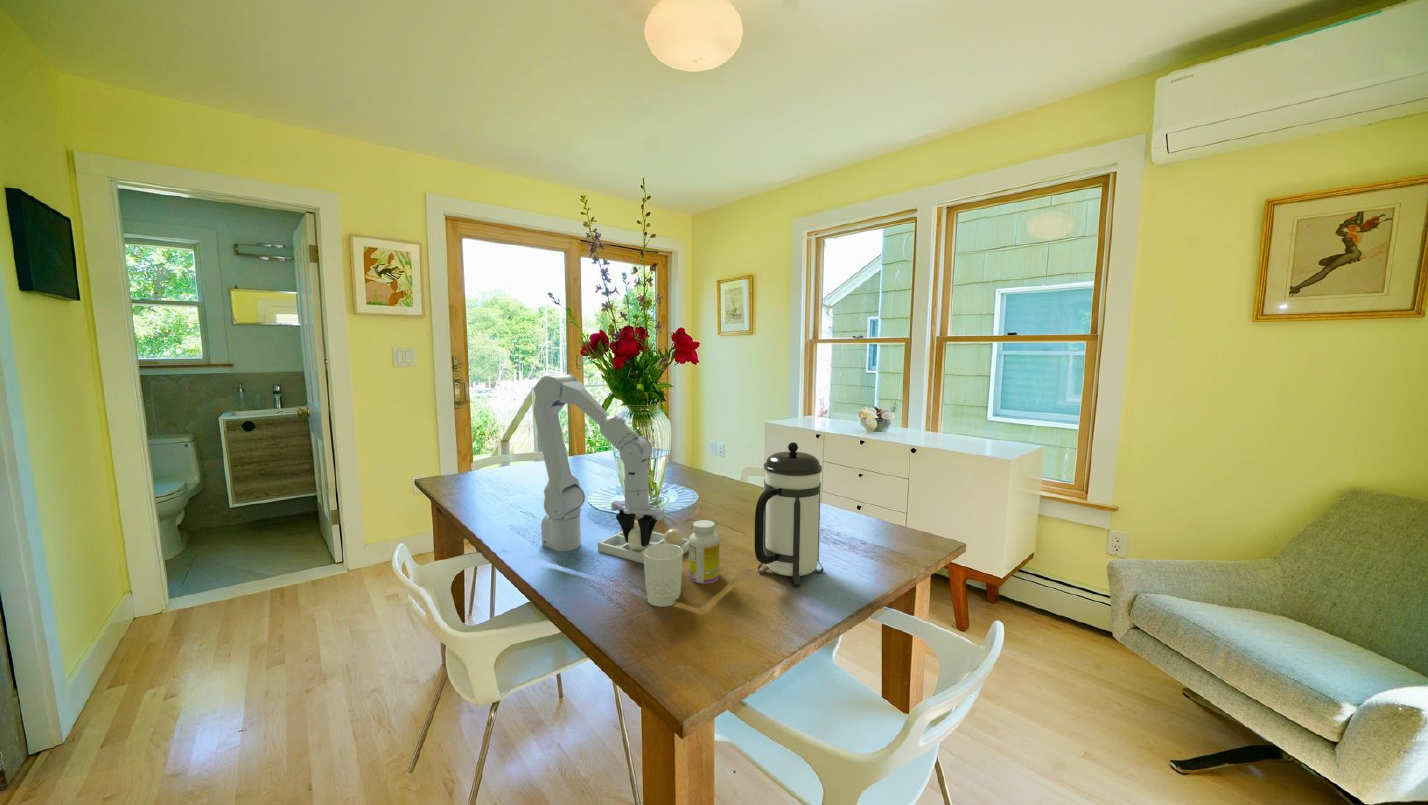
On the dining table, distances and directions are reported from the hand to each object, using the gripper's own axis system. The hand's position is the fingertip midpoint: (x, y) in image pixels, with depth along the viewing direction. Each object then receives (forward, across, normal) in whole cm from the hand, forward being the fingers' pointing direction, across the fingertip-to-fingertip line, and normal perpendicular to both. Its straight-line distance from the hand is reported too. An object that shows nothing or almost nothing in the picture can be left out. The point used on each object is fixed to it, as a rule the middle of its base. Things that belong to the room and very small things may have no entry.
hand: (637, 543), depth 117 cm
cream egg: (+2, 0, 0) cm, 2 cm away
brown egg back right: (+3, +6, +6) cm, 9 cm away
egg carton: (+4, 0, +3) cm, 5 cm away
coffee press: (+4, +35, +10) cm, 37 cm away
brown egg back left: (+3, -6, +6) cm, 9 cm away
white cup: (+4, +17, -13) cm, 22 cm away
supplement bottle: (+4, +20, -2) cm, 20 cm away
